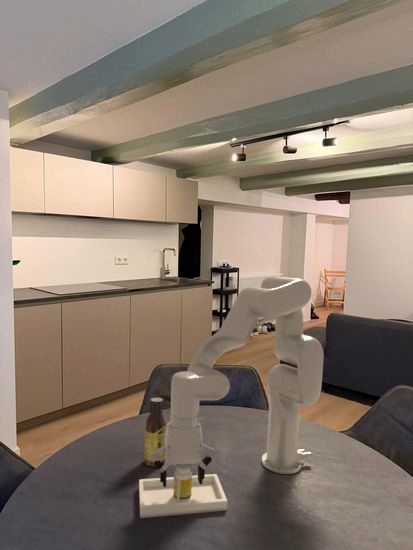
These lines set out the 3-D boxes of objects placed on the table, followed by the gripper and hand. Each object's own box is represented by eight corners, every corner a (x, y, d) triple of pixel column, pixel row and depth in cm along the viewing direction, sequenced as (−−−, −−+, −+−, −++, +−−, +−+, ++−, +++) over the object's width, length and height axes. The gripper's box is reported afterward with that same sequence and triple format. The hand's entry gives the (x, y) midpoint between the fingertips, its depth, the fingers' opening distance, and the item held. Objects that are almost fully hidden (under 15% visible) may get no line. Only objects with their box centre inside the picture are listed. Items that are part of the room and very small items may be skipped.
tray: (216, 482, 110) (216, 473, 110) (226, 510, 98) (227, 500, 98) (138, 488, 106) (139, 479, 106) (140, 518, 94) (140, 508, 94)
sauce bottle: (160, 469, 116) (162, 404, 116) (140, 466, 118) (143, 402, 117) (166, 458, 123) (169, 397, 122) (148, 455, 124) (150, 395, 123)
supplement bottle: (194, 494, 103) (195, 463, 103) (186, 504, 99) (187, 472, 99) (178, 489, 105) (179, 459, 105) (170, 498, 101) (171, 467, 101)
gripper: (213, 412, 107) (210, 472, 107) (150, 415, 103) (148, 477, 104) (219, 424, 99) (216, 488, 100) (152, 427, 96) (150, 494, 97)
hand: (182, 482), depth 102 cm, fingers open, 9 cm apart
